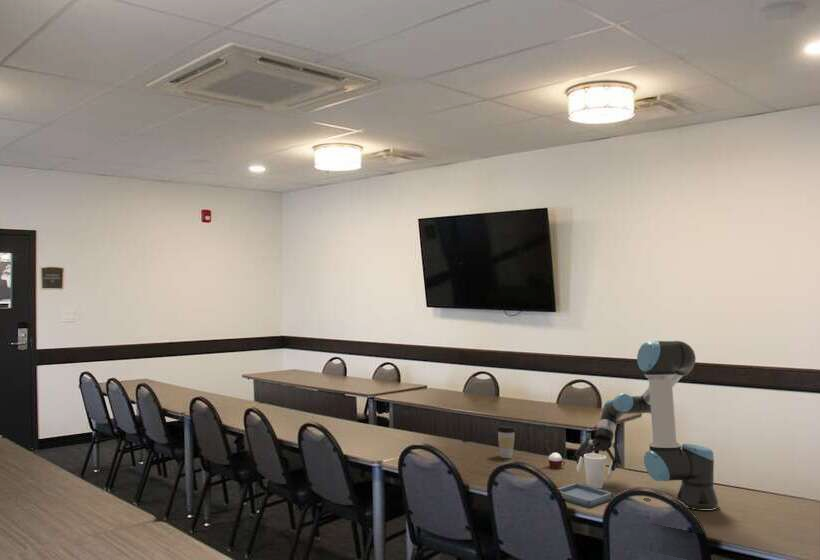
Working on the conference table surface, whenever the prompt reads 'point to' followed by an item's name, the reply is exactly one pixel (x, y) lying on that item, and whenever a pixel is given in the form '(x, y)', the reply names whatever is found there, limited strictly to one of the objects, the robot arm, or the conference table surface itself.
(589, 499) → the tray
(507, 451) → the coffee cup
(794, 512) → the conference table surface
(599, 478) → the foam cup
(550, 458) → the cocoa
